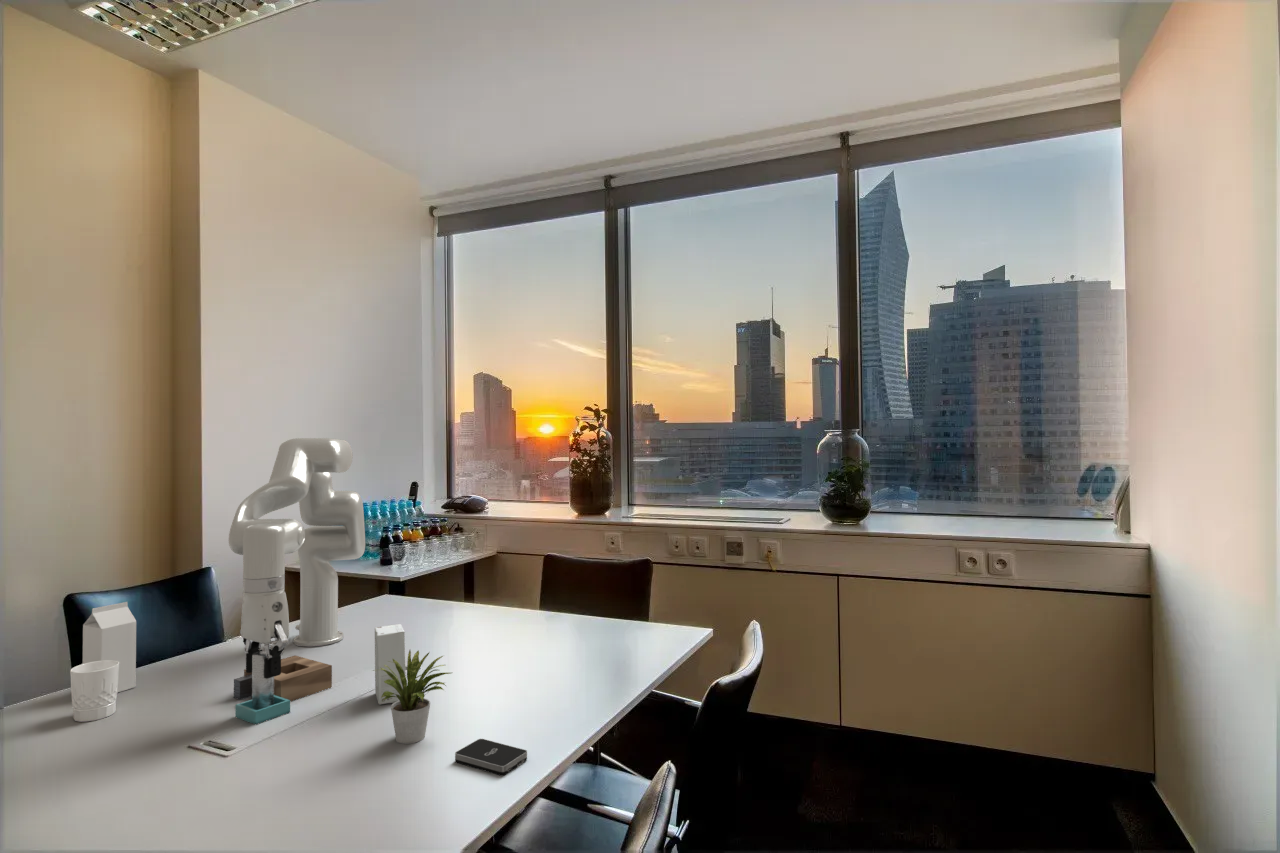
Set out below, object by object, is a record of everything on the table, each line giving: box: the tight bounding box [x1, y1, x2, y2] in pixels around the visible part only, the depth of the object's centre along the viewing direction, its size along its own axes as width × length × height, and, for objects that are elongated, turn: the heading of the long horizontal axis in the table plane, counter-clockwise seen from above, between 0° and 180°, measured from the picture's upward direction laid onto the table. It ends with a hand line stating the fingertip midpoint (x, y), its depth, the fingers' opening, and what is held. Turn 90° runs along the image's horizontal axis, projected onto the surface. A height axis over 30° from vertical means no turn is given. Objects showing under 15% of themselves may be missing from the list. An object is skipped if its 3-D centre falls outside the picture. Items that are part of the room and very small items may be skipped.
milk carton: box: [82, 601, 137, 693], centre depth 157 cm, size 7×7×19 cm
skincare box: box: [374, 623, 407, 705], centre depth 153 cm, size 8×6×15 cm
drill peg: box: [251, 650, 274, 710], centre depth 143 cm, size 4×4×12 cm
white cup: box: [70, 660, 119, 723], centre depth 143 cm, size 8×8×10 cm
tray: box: [234, 695, 291, 725], centre depth 143 cm, size 7×7×2 cm
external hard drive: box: [454, 738, 528, 777], centre depth 122 cm, size 7×11×2 cm, turn 62°
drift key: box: [233, 674, 252, 701], centre depth 155 cm, size 2×8×4 cm, turn 148°
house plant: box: [372, 649, 452, 745], centre depth 131 cm, size 14×14×16 cm
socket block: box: [243, 655, 333, 702], centre depth 157 cm, size 14×12×5 cm
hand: (263, 672), depth 143 cm, fingers open, 5 cm apart
